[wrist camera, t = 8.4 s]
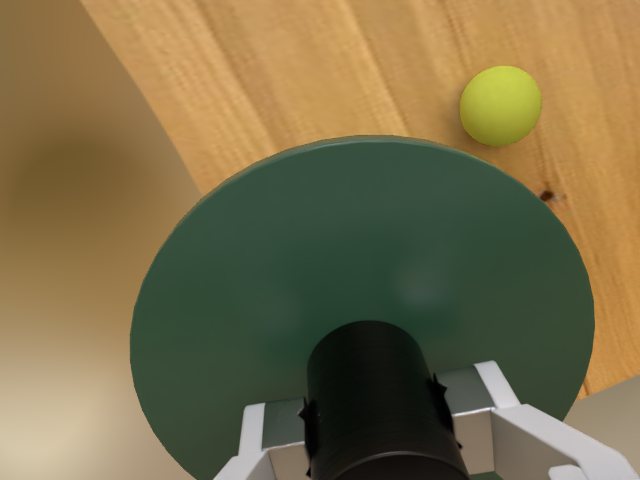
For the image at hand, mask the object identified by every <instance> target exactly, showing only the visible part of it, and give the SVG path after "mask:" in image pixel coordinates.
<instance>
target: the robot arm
mask: <svg viewBox="0 0 640 480" xmlns="http://www.w3.org/2000/svg"><path fill="white" fill-rule="evenodd" d="M433 382H434V385H435V388H436V390H437V393H438V395H439V398H440V401H441V403H442V406H443V408H444V411H445V413H446V416H447V419H448V421H449V424H450V427H451V429H452V432H453V434H454V437H455V440H456V442H457V445H458V447H459V450H460V453H461V455H462V458H463V460H464V463H465V466H466V468H467V471H468V473H469V475H471V474H478V473H485V472H491V471H495V473H496V474H498V475H499V476H500V477H501V478H502V479H504V480H640V477H639V476H638V474H637V473H636V472H635V470H634V469H633V468H632V467H631V465H630V464H629V462H628V461H627V460H626V459H625V457H624V456H623V454H622V453H620V452H618V451H616V450H614V449H612V448H610V447H608V446H607V445H605V444H603V443H601V442H599V441H597V440H595V439H593V438H591V437H589V436H588V435H586V434H584V433H582V432H580V431H578V430H576V429H574V428H572V427H570V426H569V425H567V424H565V423H563V422H561V421H559V420H557V419H555V418H553V417H551V416H550V415H548V414H546V413H544V412H542V411H540V410H538V409H536V408H534V407H532V406H531V405H529V404H523V405H521V404H520V402H519V400H518V399H517V397H516V395H515V393H514V392H513V390H512V388H511V387H510V385H509V383H508V382H507V380H506V378H505V377H504V375H503V373H502V372H501V370H500V368H499V367H498V365H497V363H496V362H495V361H493V360H492V361H487V362H482V363H478V364H473V365H470V366H465V367H460V368H454V369H449V370H444V371H439V372H433ZM213 480H311V459H310V437H309V408H308V404H307V400H306V397H305V396H301V397H295V398H289V399H283V400H276V401H270V402H266V403H260V404H254V405H247V406H246V407H245V409H244V413H243V421H242V428H241V436H240V444H239V452H238V456H235V457H232V458H231V459H230V460H229V461H228V463H227V464H226V465H225V466H224V467H223V469H222V470H221V471H220V472H219V473H218V474H217V476H216V477H215V478H214V479H213Z"/></svg>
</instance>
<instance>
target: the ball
mask: <svg viewBox="0 0 640 480" xmlns="http://www.w3.org/2000/svg"><path fill="white" fill-rule="evenodd" d="M541 108H542V96H541V92H540V89H539V87H538V85H537V83H536V82H535V80H534V79H533V78H532V77H531V76H530V75H529V74H528V73H526V72H525V71H523V70H521V69H519V68H516V67H512V66H496V67H492V68H489V69H486V70H484V71H482V72H481V73H479V74H478V75H476V76H475V77H474V78H473V79H472V80H471V81H470V82H469V83H468V85H467V86H466V88H465V90H464V92H463V94H462V97H461V100H460V106H459V113H460V118H461V122H462V124H463V126H464V128H465V130H466V131H467V133H468V134H469V135H470V136H471V137H472V138H474V139H475V140H477V141H478V142H480V143H483V144H485V145H489V146H505V145H509V144H512V143H515V142H517V141H519V140H521V139H522V138H524V137H525V136H526V135H527V134H528V133H529V132H530V131H531V130H532V129H533V128H534V126H535V125H536V123H537V121H538V119H539V116H540V113H541Z"/></svg>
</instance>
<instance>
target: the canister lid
mask: <svg viewBox="0 0 640 480" xmlns="http://www.w3.org/2000/svg"><path fill="white" fill-rule="evenodd" d="M594 330H595V318H594V300H593V295H592V291H591V286H590V281H589V276H588V273H587V270H586V268H585V265H584V263H583V260H582V258H581V255H580V253H579V250H578V248H577V247H576V245H575V243H574V242H573V240H572V238H571V237H570V235H569V233H568V231H567V230H566V228H565V226H564V225H563V224H562V223H561V222H560V220H559V219H558V218H557V217H556V216H555V214H554V213H553V212H552V211H551V210H550V209H549V207H548V206H547V205H546V204H545V203H544V202H543V201H542V200H541V199H539V198H538V197H537V196H536V195H535V194H534V193H532V192H531V191H530V190H529V189H528V188H527V187H525V186H524V185H523V184H522V183H521V182H519V181H518V180H516V179H515V178H514V177H512V176H510V175H509V174H507V173H506V172H504V171H502V170H501V169H499V168H498V167H496V166H494V165H493V164H491V163H490V162H488V161H486V160H483V159H481V158H479V157H476V156H474V155H472V154H470V153H467V152H465V151H463V150H460V149H458V148H454V147H451V146H447V145H443V144H440V143H436V142H432V141H429V140H424V139H417V138H409V137H402V136H394V135H355V136H347V137H340V138H332V139H325V140H320V141H316V142H312V143H308V144H305V145H301V146H297V147H293V148H290V149H287V150H284V151H282V152H279V153H277V154H275V155H272V156H270V157H267V158H265V159H262V160H260V161H258V162H255V163H254V164H252V165H250V166H248V167H247V168H245V169H243V170H242V171H240V172H238V173H236V174H235V175H233V176H231V177H229V178H228V179H226V180H225V181H224V182H222V183H221V184H220V185H218V186H217V187H216V188H215V189H213V190H212V191H211V192H209V193H208V194H207V195H206V196H204V197H203V198H202V199H200V201H199V202H198V203H197V204H196V205H195V206H194V207H193V208H192V209H191V210H190V211H189V212H188V213H187V214H186V215H185V216H184V217H183V218H182V219H181V220H180V221H179V223H178V224H177V225H176V227H175V228H174V229H173V231H172V232H171V233H170V235H169V236H168V238H167V239H166V240H165V242H164V243H163V244H162V246H161V247H160V249H159V251H158V253H157V255H156V256H155V258H154V260H153V262H152V264H151V266H150V268H149V270H148V272H147V274H146V276H145V278H144V280H143V282H142V285H141V288H140V292H139V294H138V297H137V301H136V303H135V307H134V312H133V318H132V324H131V331H130V363H131V370H132V376H133V382H134V387H135V390H136V393H137V396H138V399H139V402H140V405H141V408H142V411H143V412H144V415H145V416H146V418H147V420H148V422H149V424H150V426H151V428H152V430H153V432H154V433H155V435H156V436H157V438H158V439H159V440H160V442H161V443H162V445H163V446H164V447H165V449H166V450H167V451H168V453H169V454H170V455H171V456H172V457H173V458H174V459H175V460H176V461H177V462H178V463H179V464H180V466H181V467H182V468H183V469H184V470H186V471H187V472H188V473H189V474H190V475H192V476H193V477H194V478H195V479H197V480H213V479H214V478H215V477H216V476H217V474H218V473H219V472H220V471H221V470H222V469H223V467H224V466H225V465H226V464H227V463H228V461H229V460H230V459H231V458H232V457H235V456H238V452H239V444H240V436H241V428H242V421H243V413H244V409H245V407H246V406H247V405H254V404H260V403H266V402H270V401H276V400H283V399H289V398H295V397H301V396H305V397H306V400H307V404H308V408H309V437H310V459H311V480H504V479H502V478H501V477H500V476H499V475H498V474H496V473H495V471H491V472H485V473H478V474H471V475H469V473H468V471H467V468H466V466H465V463H464V460H463V458H462V455H461V453H460V450H459V447H458V445H457V442H456V440H455V437H454V434H453V432H452V429H451V427H450V424H449V421H448V419H447V416H446V413H445V411H444V408H443V406H442V403H441V401H440V398H439V395H438V393H437V390H436V388H435V385H434V382H433V372H439V371H444V370H449V369H454V368H460V367H465V366H470V365H473V364H478V363H482V362H487V361H492V360H493V361H495V362H496V363H497V365H498V367H499V368H500V370H501V372H502V373H503V375H504V377H505V378H506V380H507V382H508V383H509V385H510V387H511V388H512V390H513V392H514V393H515V395H516V397H517V399H518V400H519V402H520V404H521V405H523V404H529V405H531V406H532V407H534V408H536V409H538V410H540V411H542V412H544V413H546V414H548V415H550V416H551V417H553V418H555V419H557V420H559V421H561V422H563V420H564V418H565V416H566V415H567V413H568V412H569V410H570V408H571V407H572V405H573V403H574V402H575V400H576V398H577V395H578V393H579V391H580V388H581V386H582V384H583V381H584V379H585V376H586V373H587V369H588V365H589V362H590V358H591V354H592V348H593V339H594Z"/></svg>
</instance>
